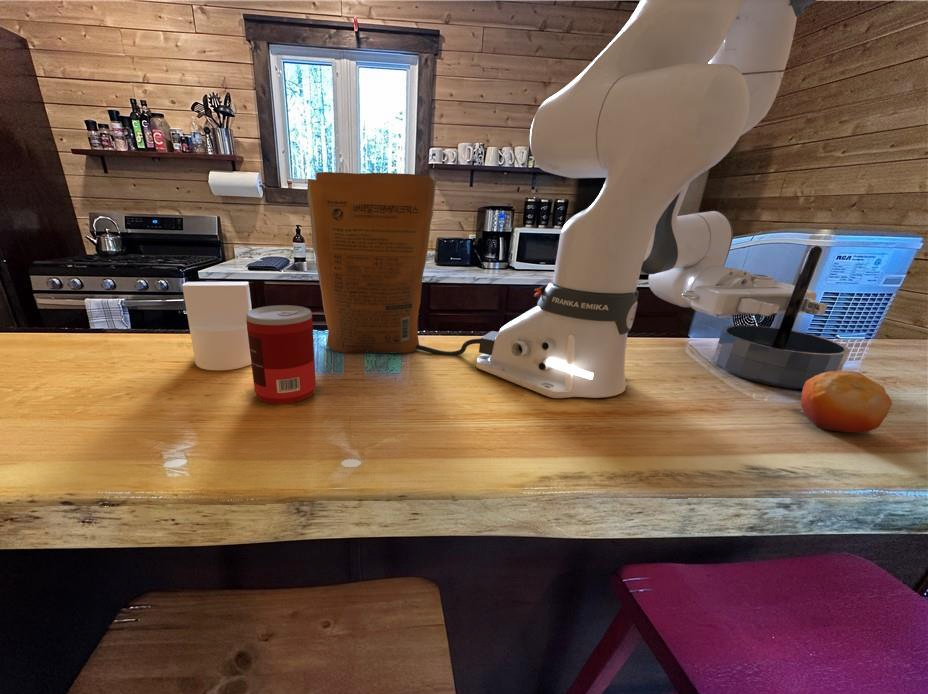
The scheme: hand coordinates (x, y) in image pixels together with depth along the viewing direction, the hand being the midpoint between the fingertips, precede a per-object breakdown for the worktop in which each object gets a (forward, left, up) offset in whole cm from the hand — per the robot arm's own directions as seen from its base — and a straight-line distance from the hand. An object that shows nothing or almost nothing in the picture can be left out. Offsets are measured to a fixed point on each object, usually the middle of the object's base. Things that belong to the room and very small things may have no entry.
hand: (798, 310), depth 68 cm
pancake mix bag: (-55, -38, -11) cm, 68 cm away
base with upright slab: (-68, -58, -11) cm, 90 cm away
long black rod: (-1, +1, -10) cm, 10 cm away
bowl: (-1, +1, -11) cm, 11 cm away
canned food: (-51, -59, -11) cm, 79 cm away
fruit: (+6, -18, -11) cm, 22 cm away
